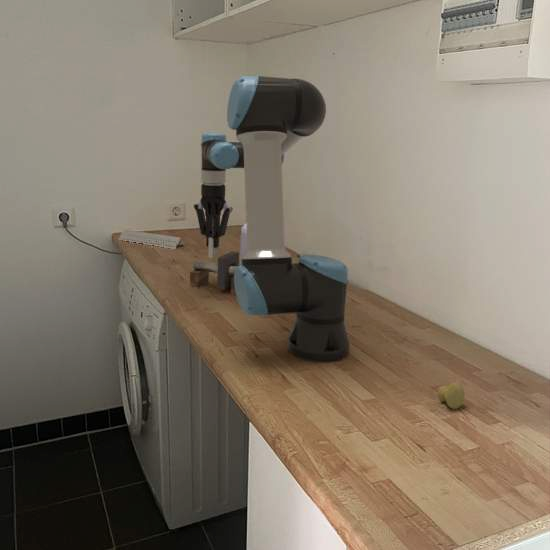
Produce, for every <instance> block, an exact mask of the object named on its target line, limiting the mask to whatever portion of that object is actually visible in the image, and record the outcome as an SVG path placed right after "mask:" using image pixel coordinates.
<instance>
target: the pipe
mask: <svg viewBox="0 0 550 550" xmlns="http://www.w3.org/2000/svg"><path fill="white" fill-rule="evenodd" d="M192 264H193V265H192V266H193V267H192V268H193V270H201V271H207V272H209V273H215V274H218V263H215V262H208V261H201V260H195V261H193V263H192ZM235 268H236V266H231V265H229V275H233V276H234V271H235Z"/></svg>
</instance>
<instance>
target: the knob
mask: <svg viewBox="0 0 550 550" xmlns="http://www.w3.org/2000/svg"><path fill="white" fill-rule="evenodd" d="M437 399H438V400H439V401H440V402H442V403H444V402H446V404H447V405H448V407H449V408H450V409H454V410H457V409H459V408H460V407H461V406H462V405H463V403H464V400H465V390H464V388H463V386H462V385H461V384H460V383H458V382H452V383H451V384H449V385H448V386H446V385H441V386H440V387H439V388H438V391H437Z"/></svg>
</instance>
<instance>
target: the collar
mask: <svg viewBox="0 0 550 550" xmlns="http://www.w3.org/2000/svg"><path fill="white" fill-rule="evenodd" d="M239 257H240V252H239V251H230V252H228V253H226V254H223V255H221V256H218V257H217V264H218V273H217V289H219V290H226V289H227V288H229V287H231V278H233V277H234V276H233V275H229V265H231V266H236V267H238V266H239V265H240V264H239V263H240V261H239V260H240V258H239Z"/></svg>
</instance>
